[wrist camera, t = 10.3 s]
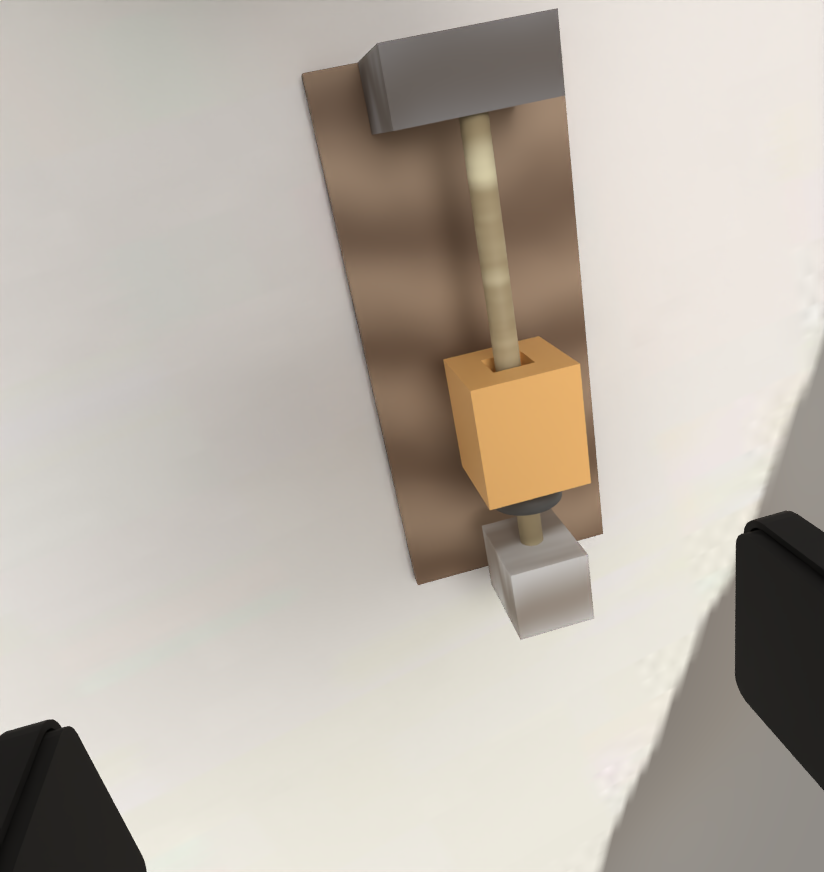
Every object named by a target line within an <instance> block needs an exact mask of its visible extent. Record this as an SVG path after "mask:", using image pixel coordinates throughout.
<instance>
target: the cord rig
mask: <svg viewBox="0 0 824 872" xmlns="http://www.w3.org/2000/svg"><path fill="white" fill-rule="evenodd" d="M302 79H303V84H304V88H305V92H306V97H307V101H308V106H309V110H310V115H311V119H312V123H313V128H314V132H315V137H316V141H317V146H318V150H319V154H320V159H321V163H322V168H323V172H324V177H325V181H326V185H327V190H328V194H329V199H330V203H331V208H332V212H333V217H334V221H335V225H336V230H337V234H338V239H339V243H340V248H341V252H342V256H343V261H344V265H345V270H346V274H347V279H348V283H349V287H350V292H351V296H352V301H353V305H354V310H355V314H356V318H357V323H358V327H359V332H360V336H361V341H362V345H363V350H364V354H365V358H366V363H367V367H368V372H369V376H370V381H371V385H372V389H373V394H374V398H375V403H376V407H377V412H378V416H379V420H380V425H381V429H382V434H383V438H384V443H385V447H386V451H387V456H388V460H389V465H390V469H391V474H392V478H393V482H394V487H395V491H396V496H397V500H398V505H399V509H400V514H401V518H402V522H403V527H404V531H405V536H406V540H407V545H408V549H409V553H410V558H411V562H412V567H413V571H414V576H415V579H416V581H417V584H418V585H420V584H424V583H427V582H431V581H435V580H438V579H442V578H445V577H449V576H453V575H456V574H460V573H463V572H467V571H471V570H474V569H478V568H481V567H485V566H489V571H490V577H491V583H492V586H493V588H494V590H495V591H496V593H497V595H498V597H499V599H500V601H501V603H502V605H503V607H504V609H505V611H506V613H507V614H508V616H509V618H510V620H511V622H512V624H513V626H514V628H515V630H516V632H517V634H518V635H519V637H520V639H521V640H522V639H525V638H529V637H532V636H535V635H539V634H542V633H546V632H549V631H553V630H556V629H559V628H563V627H566V626H570V625H573V624H577V623H580V622H583V621H587V620H590V619H594V612H593V602H592V592H591V582H590V571H589V561H588V554H587V553H586V552H585V550H584V549H583V548H582V547H581V545H580V544H579V543H578V542H577V541H578V540H582V539H586V538H589V537H593V536H596V535H600V534H603V529H602V517H601V505H600V494H599V482H598V471H597V459H596V448H595V436H594V425H593V413H592V402H591V390H590V378H589V367H588V355H587V344H586V332H585V321H584V309H583V298H582V286H581V275H580V263H579V252H578V240H577V228H576V217H575V205H574V194H573V182H572V171H571V159H570V148H569V136H568V125H567V113H566V101H565V89H564V78H563V66H562V54H561V43H560V31H559V20H558V8H557V9H552V10H547V11H541V12H536V13H531V14H526V15H521V16H516V17H510V18H505V19H500V20H495V21H490V22H485V23H479V24H474V25H469V26H464V27H459V28H453V29H448V30H443V31H438V32H433V33H428V34H422V35H417V36H412V37H407V38H402V39H397V40H391V41H386V42H381V43H377V44H376V45H375V46H374V47H373V48H372V49H371V50H370V51H369V52H368V53H367V54H366V55H365V56H364V57H363V58H362V59H361V60H360V61H359V62H358V63H353V64H348V65H343V66H338V67H333V68H328V69H323V70H318V71H312V72H307V73H303V74H302ZM537 336H540V337H541V338H542V339H544V340H545V341H547V342H548V343H550V344H551V345H553V346H554V347H556V348H557V349H559V350H560V351H562V352H563V353H565V354H566V355H568V356H569V357H571V358H572V359H574V360H575V361H577V362H578V363H580V369H581V379H582V390H583V401H584V412H585V423H586V434H587V445H588V456H589V467H590V478H591V483H590V484H586V485H582V486H579V487H575V488H571V489H568V490H564V491H560V492H556V493H553V494H549V495H545V496H542V497H538V498H534V499H530V500H527V501H523V502H519V503H516V504H512V505H508V506H505V507H501V508H497V509H493V510H489V508H488V507H487V505H486V503H485V502H484V500H483V499H482V497H481V495H480V494H479V492H478V491H477V489H476V487H475V486H474V484H473V483H472V481H471V479H470V478H469V476H468V475H467V473H466V471H465V470H464V468H463V467H462V463H461V457H460V451H459V446H458V440H457V434H456V429H455V423H454V417H453V412H452V406H451V401H450V395H449V389H448V384H447V378H446V372H445V367H444V361H443V359H447V358H451V357H455V356H459V355H463V354H468V353H472V352H476V351H480V350H484V349H488V348H492V350H493V357H494V364H495V371H496V372H498V371H502V370H506V369H510V368H514V367H518V366H521V361H520V353H519V346H518V341H521V340H525V339H529V338H533V337H537Z"/></svg>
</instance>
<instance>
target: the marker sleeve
mask: <svg viewBox="0 0 824 872" xmlns="http://www.w3.org/2000/svg"><path fill="white" fill-rule="evenodd" d="M518 346H519V353H520V361H521V366H518V367H514V368H510V369H506V370H502V371H498V372H496V371H495V364H494V357H493V350H492V348H488V349H484V350H480V351H476V352H472V353H468V354H463V355H459V356H455V357H451V358H447V359H443V361H444V367H445V372H446V378H447V384H448V389H449V395H450V401H451V406H452V412H453V417H454V423H455V429H456V434H457V440H458V446H459V451H460V457H461V463H462V467H463V468H464V470H465V471H466V473H467V475H468V476H469V478H470V479H471V481H472V483H473V484H474V486H475V487H476V489H477V491H478V492H479V494H480V495H481V497H482V499H483V500H484V502H485V503H486V505H487V507H488V508H489V510H493V509H497V508H501V507H505V506H508V505H512V504H516V503H519V502H523V501H527V500H530V499H534V498H538V497H542V496H545V495H549V494H553V493H556V492H560V491H564V490H568V489H571V488H575V487H579V486H582V485H586V484H590V483H591V478H590V467H589V456H588V445H587V434H586V423H585V412H584V401H583V390H582V379H581V369H580V363H578V362H577V361H575V360H574V359H572V358H571V357H569V356H568V355H566V354H565V353H563V352H562V351H560V350H559V349H557V348H556V347H554V346H553V345H551V344H550V343H548V342H547V341H545V340H544V339H542V338H541V337H540V336H537V337H533V338H529V339H525V340H521V341H518Z"/></svg>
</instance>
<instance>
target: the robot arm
mask: <svg viewBox="0 0 824 872" xmlns="http://www.w3.org/2000/svg"><path fill="white" fill-rule="evenodd" d="M735 612H736V613H735V614H736V615H735V616H736V617H735V619H736V621H735V624H736V625H735V678H736V682H737V685H738V688H739V690H740V693H741V694H742V696H743V698H744V699H745V701H746V702H747V703H748V704H749V705H750V707H751V708H752V709H753V710H754V711H755V712H756V713H757V715H758V716H759V717H760V718H761V719H762V720H763V721H764V723H765V724H766V725H767V726H768V727H769V728H770V729H771V730H772V732H773V733H774V734H775V735H776V736H777V737H778V739H779V740H780V741H781V742H782V743H783V744H784V745H785V747H786V748H787V749H788V750H789V751H790V752H791V754H792V755H793V756H794V757H795V758H796V759H797V760H798V762H799V763H800V764H801V765H802V766H803V767H804V768H805V770H806V771H807V772H808V773H809V774H810V775H811V776H812V777H813V779H815V781H816V782H817V783H818V784H819V786H820V787H821V788H822V789H823V790H824V532H823V531H821V530H820V529H818V528H817V527H815V526H814V525H813V524H811V523H809V522H808V521H807V520H805V519H804V518H802V517H801V516H799V515H798V514H796V513H794V512H792V511H783V512H780V513H776V514H773V515H769V516H766V517H762V518H758V519H755V520H751V521H750V522H748V523H747V524H746V526H745V528H744V534H741V535H739V536H738V538H737V540H736V610H735ZM0 872H146V866H145V862H144V859H143V857H142V855H141V853H140V851H139V849H138V847H137V845H136V843H135V841H134V840H133V838H132V836H131V834H130V832H129V830H128V828H127V826H126V824H125V823H124V821H123V819H122V817H121V815H120V813H119V811H118V809H117V808H116V806H115V804H114V802H113V800H112V798H111V796H110V794H109V792H108V791H107V789H106V787H105V785H104V783H103V781H102V779H101V777H100V776H99V774H98V772H97V770H96V768H95V766H94V764H93V762H92V760H91V759H90V757H89V755H88V753H87V751H86V749H85V747H84V745H83V744H82V742H81V740H80V738H79V736H78V734H77V732H76V731H75V730H74V728H72V727H71V726H67V727H63V728H62V727H61V726H60V725H59V723H58V722H56V721H55V720H45V721H42V722H38V723H35V724H31V725H28V726H24V727H21V728H17V729H14V730H10V731H7V732H5V733H3V734H2V735H1V736H0Z"/></svg>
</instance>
